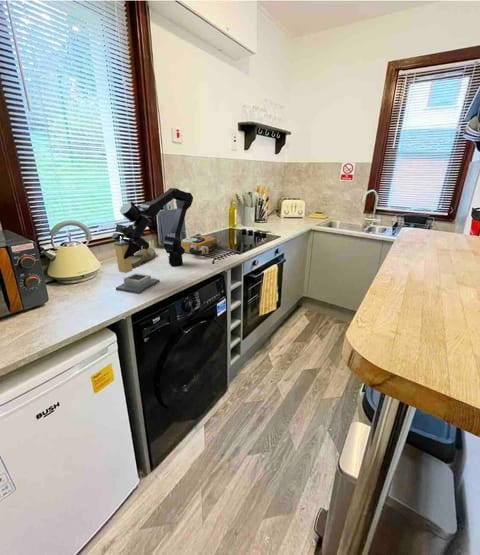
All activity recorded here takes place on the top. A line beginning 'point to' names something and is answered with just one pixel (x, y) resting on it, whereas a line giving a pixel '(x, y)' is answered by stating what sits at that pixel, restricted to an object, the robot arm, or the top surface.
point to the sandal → (142, 256)
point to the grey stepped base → (137, 283)
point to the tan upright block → (123, 263)
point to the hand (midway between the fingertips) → (120, 257)
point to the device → (199, 244)
